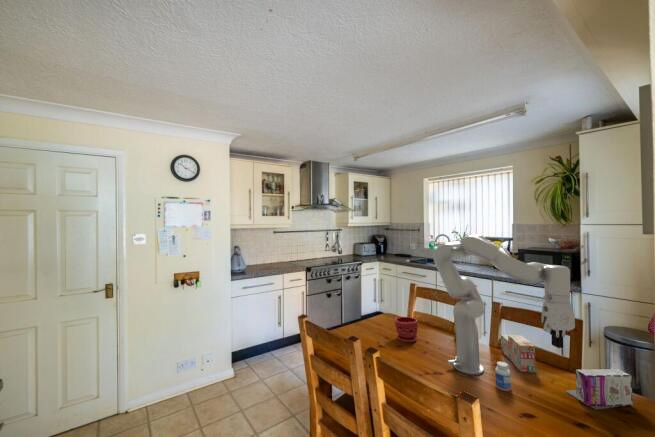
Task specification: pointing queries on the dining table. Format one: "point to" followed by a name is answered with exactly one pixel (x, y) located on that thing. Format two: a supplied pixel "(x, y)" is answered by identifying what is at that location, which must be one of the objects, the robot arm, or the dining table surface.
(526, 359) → the printed cardboard carton
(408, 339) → the plant pot
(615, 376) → the candy bar box
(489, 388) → the dining table surface
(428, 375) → the dining table surface
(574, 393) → the mat
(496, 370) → the pill bottle
